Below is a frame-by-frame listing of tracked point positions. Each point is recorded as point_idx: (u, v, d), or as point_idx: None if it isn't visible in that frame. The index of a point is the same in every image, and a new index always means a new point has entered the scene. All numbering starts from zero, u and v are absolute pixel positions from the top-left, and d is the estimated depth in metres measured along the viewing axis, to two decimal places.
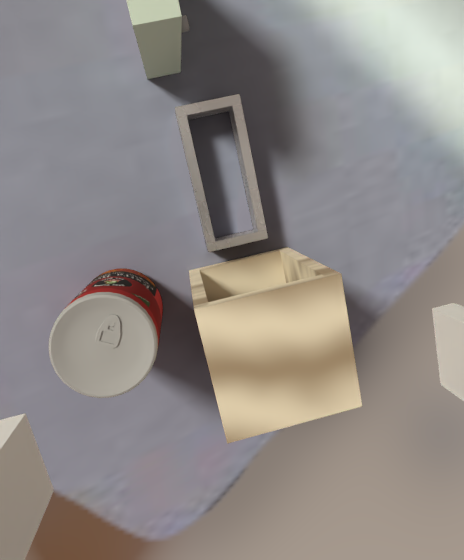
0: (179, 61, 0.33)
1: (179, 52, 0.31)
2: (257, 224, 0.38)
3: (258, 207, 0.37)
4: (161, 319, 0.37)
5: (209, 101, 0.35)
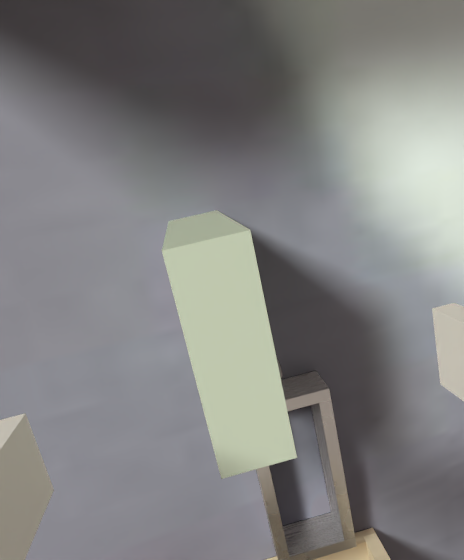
0: None
1: None
2: (344, 532, 0.29)
3: (346, 514, 0.28)
4: None
5: (289, 400, 0.26)
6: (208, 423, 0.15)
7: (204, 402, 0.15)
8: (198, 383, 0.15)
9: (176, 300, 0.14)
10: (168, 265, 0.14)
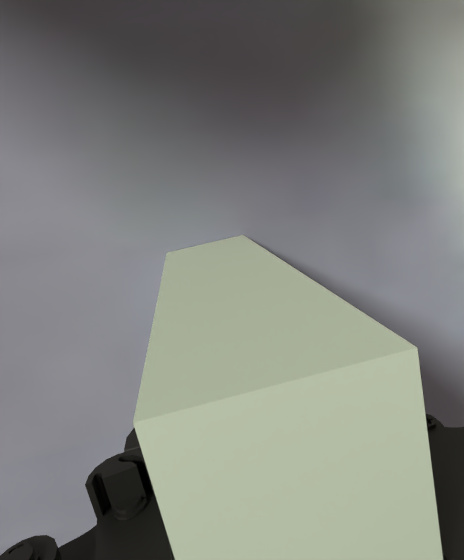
0: None
1: None
2: None
3: None
4: None
5: None
6: None
7: None
8: None
9: None
10: (155, 465, 0.04)
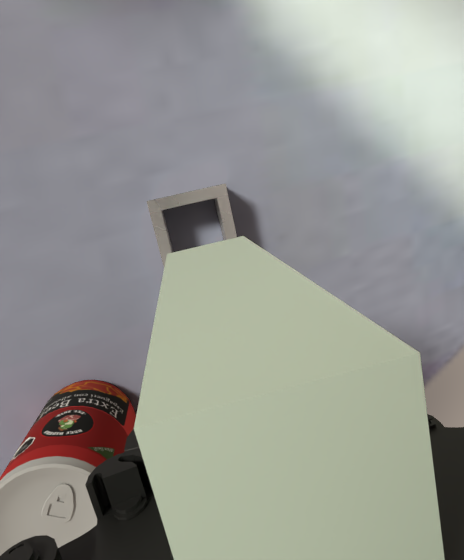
0: None
1: None
2: None
3: None
4: None
5: (188, 193, 0.29)
6: None
7: None
8: None
9: None
10: (155, 471, 0.04)
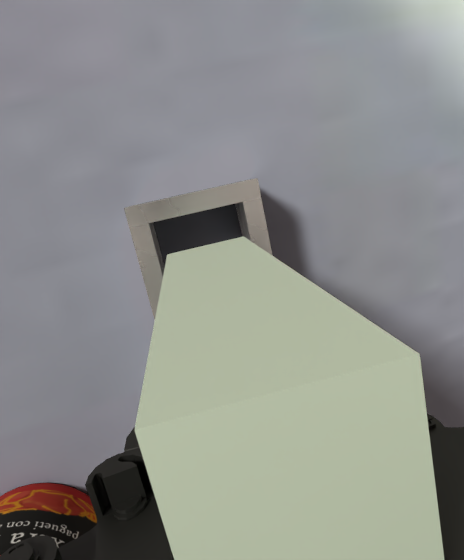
0: None
1: None
2: None
3: None
4: None
5: (195, 195, 0.17)
6: None
7: None
8: None
9: None
10: (156, 472, 0.04)
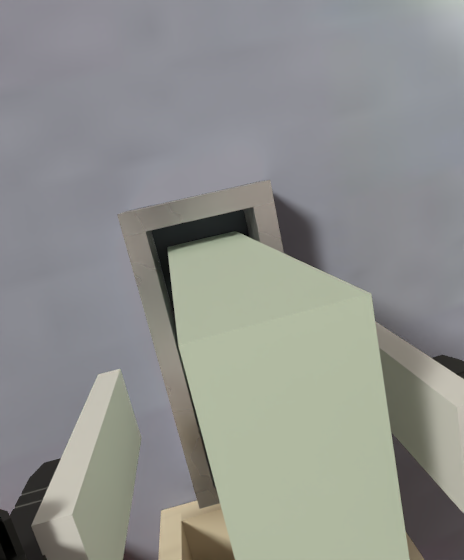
0: None
1: None
2: None
3: None
4: None
5: (199, 199, 0.15)
6: None
7: None
8: None
9: (209, 448, 0.06)
10: (192, 376, 0.06)
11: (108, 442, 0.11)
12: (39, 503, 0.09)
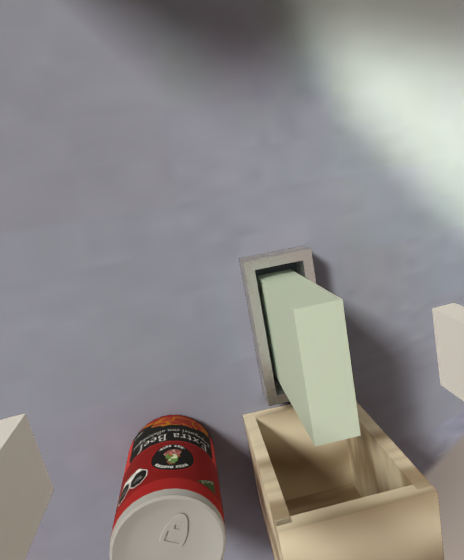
0: None
1: None
2: None
3: None
4: None
5: (279, 256, 0.33)
6: (310, 411, 0.25)
7: (309, 398, 0.25)
8: (306, 386, 0.25)
9: (298, 337, 0.24)
10: (296, 318, 0.24)
11: None
12: None
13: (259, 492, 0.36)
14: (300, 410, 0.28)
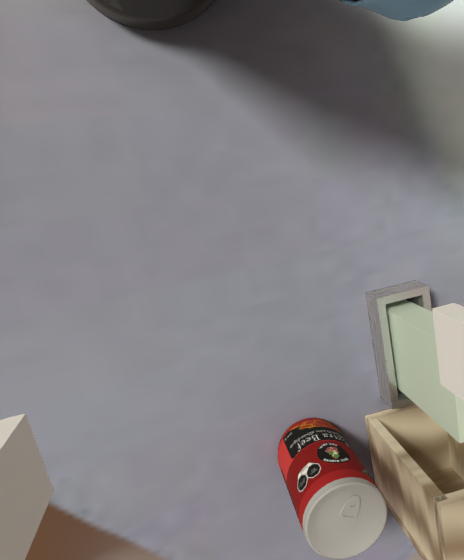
0: None
1: None
2: None
3: None
4: None
5: (404, 292, 0.42)
6: (457, 418, 0.34)
7: (457, 408, 0.34)
8: (456, 400, 0.34)
9: None
10: None
11: None
12: None
13: (382, 477, 0.46)
14: (439, 415, 0.37)
